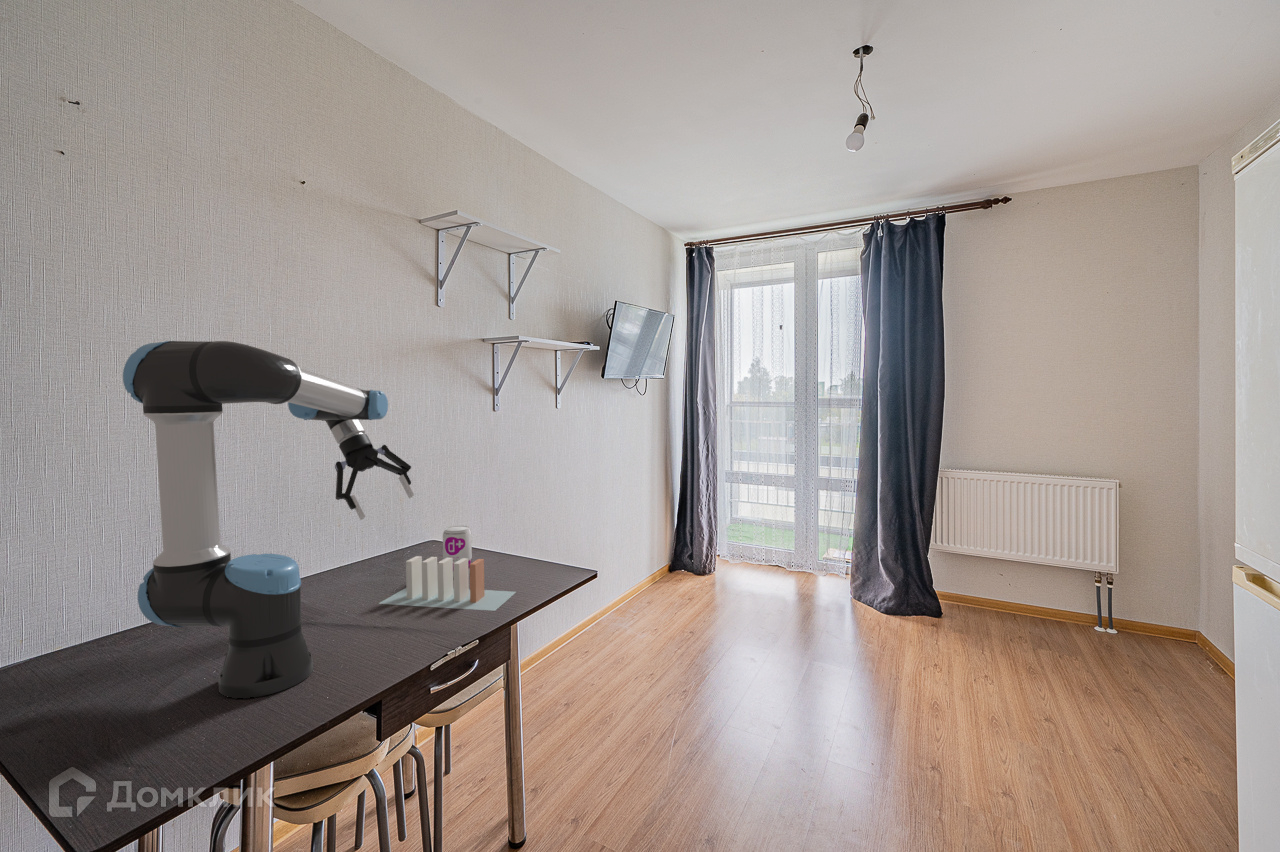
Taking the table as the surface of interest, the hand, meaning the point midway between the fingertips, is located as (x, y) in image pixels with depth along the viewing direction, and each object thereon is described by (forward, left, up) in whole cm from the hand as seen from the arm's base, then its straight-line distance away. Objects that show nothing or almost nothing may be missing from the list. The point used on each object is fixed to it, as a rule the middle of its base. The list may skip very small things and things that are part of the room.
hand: (388, 507), depth 152 cm
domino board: (-1, -18, -25) cm, 31 cm away
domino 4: (-1, -21, -24) cm, 32 cm away
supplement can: (+19, -10, -25) cm, 33 cm away
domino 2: (-1, -12, -24) cm, 27 cm away
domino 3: (-1, -17, -23) cm, 29 cm away
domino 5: (-1, -26, -24) cm, 35 cm away
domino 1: (-1, -8, -24) cm, 25 cm away
